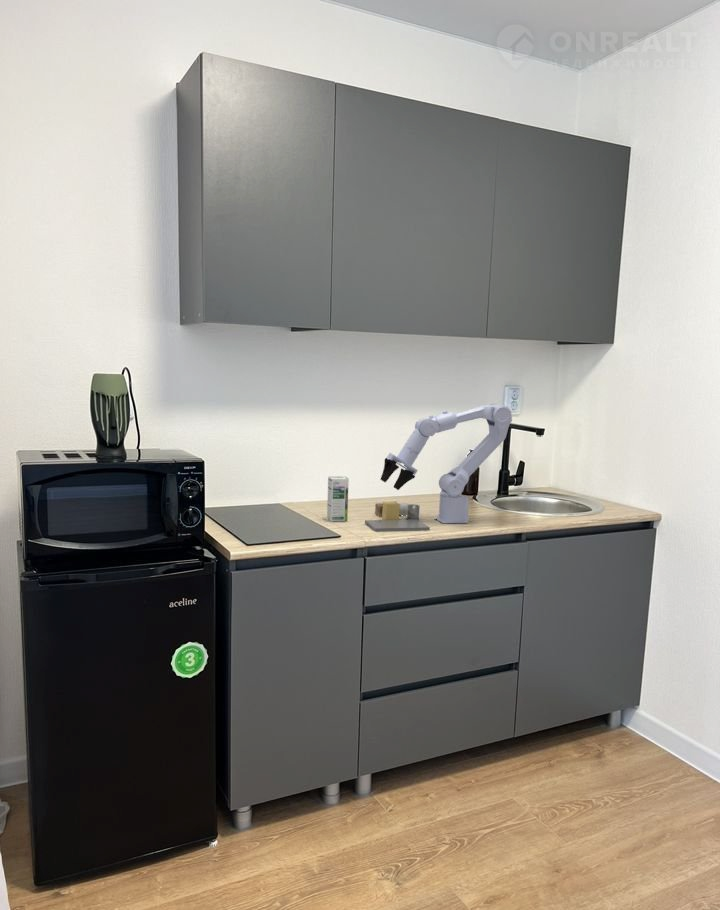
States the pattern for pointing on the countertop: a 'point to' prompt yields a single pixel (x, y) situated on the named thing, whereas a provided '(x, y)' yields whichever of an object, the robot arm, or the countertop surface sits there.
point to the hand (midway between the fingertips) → (389, 484)
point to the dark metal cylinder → (413, 512)
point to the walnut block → (378, 509)
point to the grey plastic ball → (403, 509)
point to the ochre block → (390, 511)
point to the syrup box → (337, 498)
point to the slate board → (396, 525)
